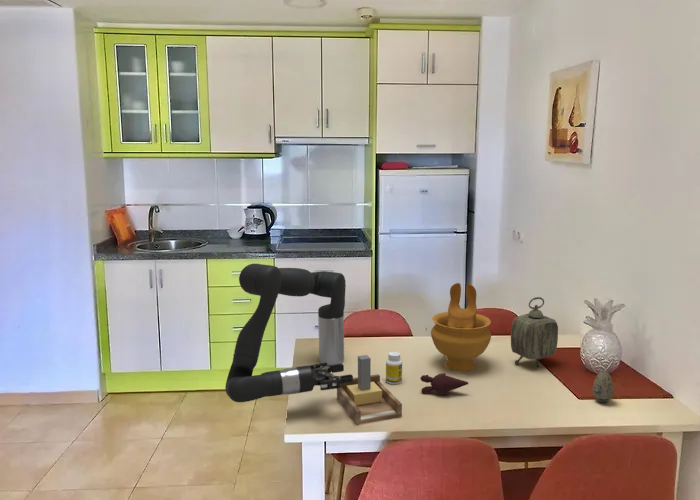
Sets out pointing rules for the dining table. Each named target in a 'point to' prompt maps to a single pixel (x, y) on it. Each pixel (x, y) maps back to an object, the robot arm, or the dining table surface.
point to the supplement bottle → (393, 368)
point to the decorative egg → (603, 387)
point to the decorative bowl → (461, 331)
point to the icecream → (441, 383)
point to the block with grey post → (364, 384)
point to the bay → (370, 404)
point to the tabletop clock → (534, 335)
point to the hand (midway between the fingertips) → (347, 372)
